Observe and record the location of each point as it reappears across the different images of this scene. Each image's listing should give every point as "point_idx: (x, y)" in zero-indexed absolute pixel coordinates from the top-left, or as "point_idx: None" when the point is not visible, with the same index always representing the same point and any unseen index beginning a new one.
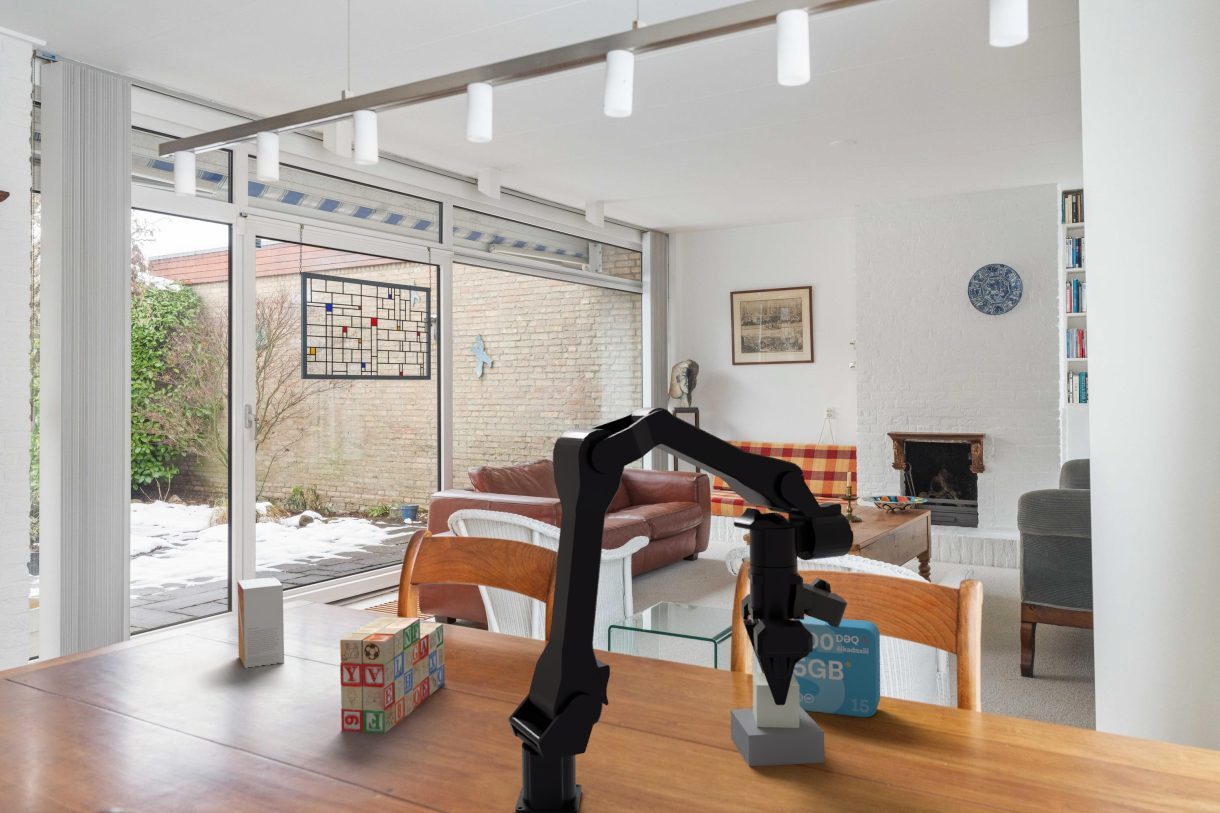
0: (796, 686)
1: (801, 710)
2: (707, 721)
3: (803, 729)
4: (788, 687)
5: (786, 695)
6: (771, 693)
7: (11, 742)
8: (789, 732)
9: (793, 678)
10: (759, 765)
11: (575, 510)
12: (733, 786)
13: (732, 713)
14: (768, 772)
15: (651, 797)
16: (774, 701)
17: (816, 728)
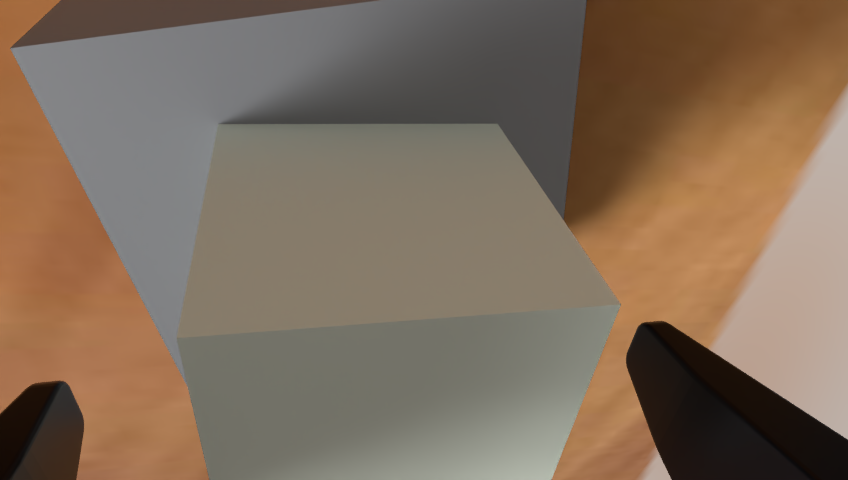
0: (606, 318)
1: (126, 55)
2: (11, 387)
3: (523, 102)
4: (793, 410)
5: (725, 365)
6: (655, 435)
7: None
8: (557, 183)
9: (385, 341)
10: None
11: None
12: (645, 295)
13: None
14: (573, 197)
15: (643, 435)
16: (634, 378)
17: (526, 15)
